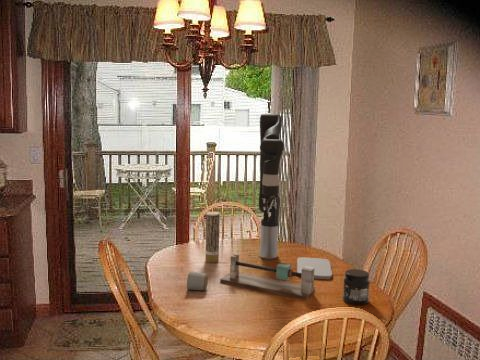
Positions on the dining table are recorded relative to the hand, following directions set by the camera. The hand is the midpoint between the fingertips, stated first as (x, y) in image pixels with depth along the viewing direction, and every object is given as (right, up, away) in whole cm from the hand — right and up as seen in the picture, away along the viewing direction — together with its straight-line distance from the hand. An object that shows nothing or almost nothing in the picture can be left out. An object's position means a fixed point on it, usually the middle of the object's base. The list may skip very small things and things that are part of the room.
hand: (269, 219), depth 208 cm
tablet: (+23, -27, +17) cm, 39 cm away
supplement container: (+34, -32, -20) cm, 51 cm away
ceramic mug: (-32, -29, -11) cm, 45 cm away
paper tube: (-28, -24, +26) cm, 45 cm away
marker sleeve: (+5, -24, -11) cm, 27 cm away
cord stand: (-2, -29, -7) cm, 30 cm away
